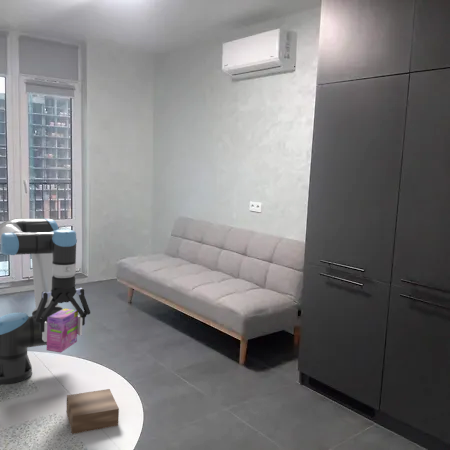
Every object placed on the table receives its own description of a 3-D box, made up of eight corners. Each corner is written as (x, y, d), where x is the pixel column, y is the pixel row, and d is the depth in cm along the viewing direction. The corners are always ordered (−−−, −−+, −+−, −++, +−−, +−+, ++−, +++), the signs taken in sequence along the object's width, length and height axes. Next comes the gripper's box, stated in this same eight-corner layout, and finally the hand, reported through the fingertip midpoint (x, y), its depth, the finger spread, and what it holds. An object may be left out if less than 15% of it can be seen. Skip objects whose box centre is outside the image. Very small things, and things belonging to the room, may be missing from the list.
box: (61, 353, 152) (62, 318, 151) (46, 350, 153) (46, 316, 152) (77, 342, 162) (78, 309, 161) (63, 340, 163) (63, 308, 162)
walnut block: (66, 412, 151) (66, 395, 151) (108, 405, 158) (109, 388, 157) (72, 435, 139) (72, 416, 138) (118, 426, 145) (118, 408, 145)
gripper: (30, 281, 145) (29, 347, 147) (101, 274, 159) (99, 335, 162) (24, 276, 150) (23, 340, 153) (93, 270, 165) (91, 328, 167)
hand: (62, 337), depth 157 cm, fingers closed on box, 11 cm apart
